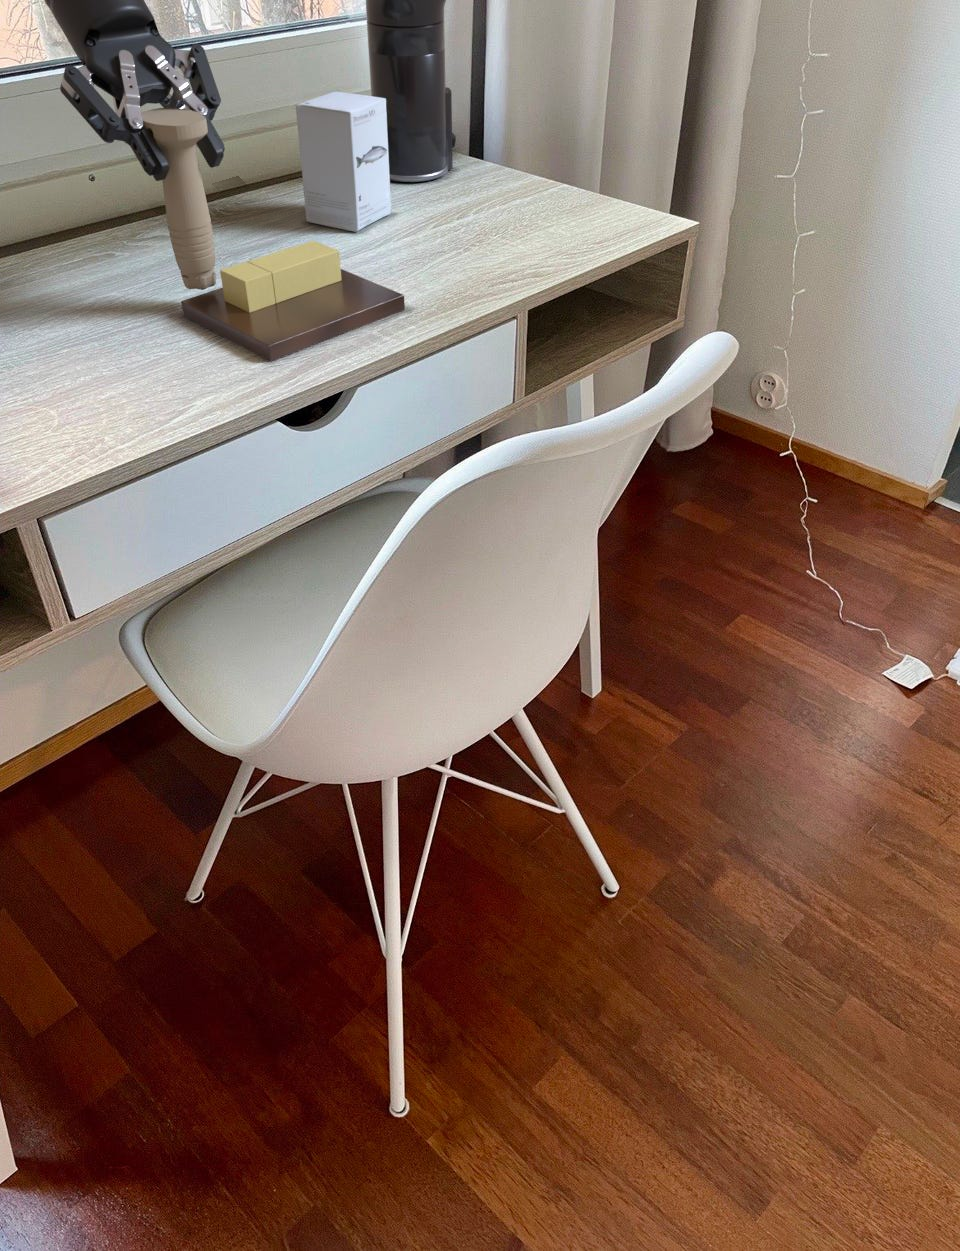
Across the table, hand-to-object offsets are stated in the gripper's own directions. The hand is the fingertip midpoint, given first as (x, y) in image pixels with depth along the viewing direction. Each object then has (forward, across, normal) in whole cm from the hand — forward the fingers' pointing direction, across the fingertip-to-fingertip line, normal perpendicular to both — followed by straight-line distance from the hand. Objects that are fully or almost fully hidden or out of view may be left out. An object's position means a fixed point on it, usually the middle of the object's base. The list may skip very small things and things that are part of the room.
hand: (191, 167), depth 92 cm
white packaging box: (+1, +26, +18) cm, 32 cm away
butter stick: (+11, +7, +6) cm, 14 cm away
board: (+13, +5, +5) cm, 15 cm away
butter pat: (+11, +2, +6) cm, 12 cm away
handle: (+7, 0, +9) cm, 12 cm away
